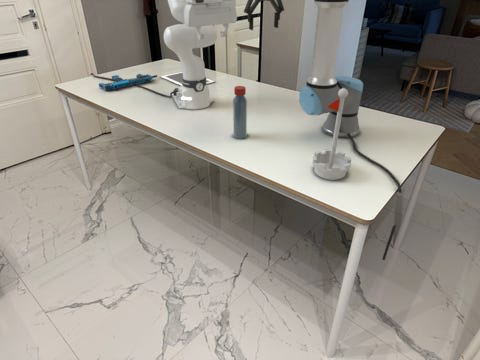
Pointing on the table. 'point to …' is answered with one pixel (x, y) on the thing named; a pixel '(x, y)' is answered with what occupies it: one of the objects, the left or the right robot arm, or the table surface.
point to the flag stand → (333, 149)
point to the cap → (239, 90)
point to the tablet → (180, 78)
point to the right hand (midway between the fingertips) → (263, 28)
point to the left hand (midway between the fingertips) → (212, 37)
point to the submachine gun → (126, 81)
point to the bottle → (240, 117)
